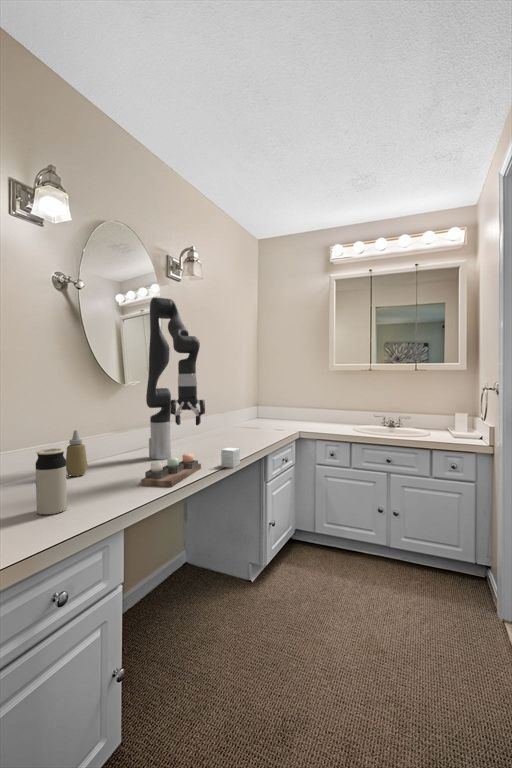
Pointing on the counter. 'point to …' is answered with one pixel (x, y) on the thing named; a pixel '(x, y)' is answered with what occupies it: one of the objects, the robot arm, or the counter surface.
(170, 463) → the sage button
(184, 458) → the terracotta button
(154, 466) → the cream button
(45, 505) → the travel mug
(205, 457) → the counter surface
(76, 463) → the squeeze bottle
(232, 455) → the product box
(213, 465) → the counter surface
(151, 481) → the button panel
